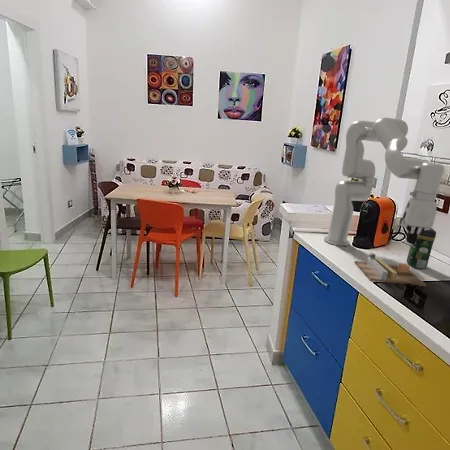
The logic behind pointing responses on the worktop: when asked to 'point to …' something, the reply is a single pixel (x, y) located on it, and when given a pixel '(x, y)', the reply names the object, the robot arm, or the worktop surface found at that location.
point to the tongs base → (376, 267)
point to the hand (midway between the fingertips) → (410, 242)
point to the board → (401, 278)
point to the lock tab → (403, 268)
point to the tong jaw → (391, 272)
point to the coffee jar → (421, 249)
